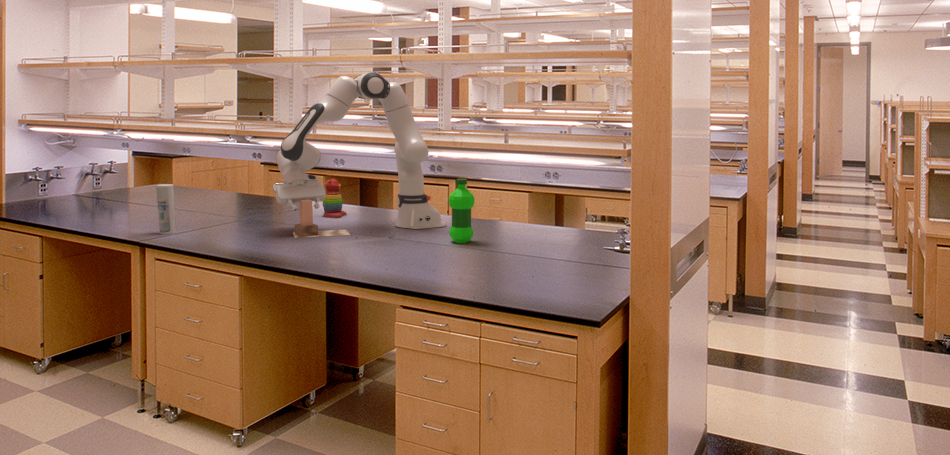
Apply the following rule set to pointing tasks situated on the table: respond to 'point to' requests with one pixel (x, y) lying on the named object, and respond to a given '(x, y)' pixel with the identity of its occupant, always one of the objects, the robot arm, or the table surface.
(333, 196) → the stacking bear
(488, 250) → the table surface
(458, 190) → the plastic bottle
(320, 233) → the birch base board
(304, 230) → the walnut plinth
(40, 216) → the table surface
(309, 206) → the terracotta pillar
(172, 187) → the spray can
